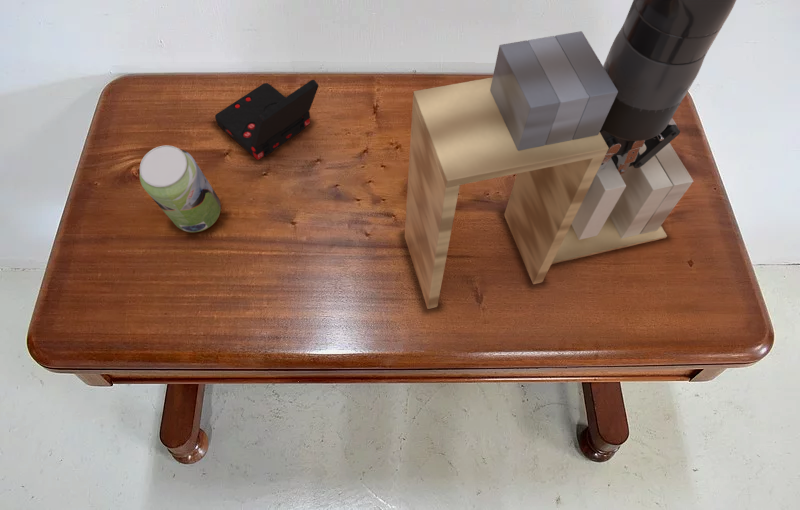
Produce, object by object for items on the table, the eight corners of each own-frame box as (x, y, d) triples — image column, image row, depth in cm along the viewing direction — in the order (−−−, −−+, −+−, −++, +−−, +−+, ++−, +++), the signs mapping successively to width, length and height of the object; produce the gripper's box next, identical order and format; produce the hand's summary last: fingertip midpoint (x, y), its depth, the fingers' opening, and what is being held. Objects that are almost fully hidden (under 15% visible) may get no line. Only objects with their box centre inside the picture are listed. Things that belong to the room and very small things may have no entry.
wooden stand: (542, 282, 71) (631, 104, 45) (427, 309, 68) (453, 138, 43) (512, 213, 75) (578, 17, 50) (404, 236, 73) (415, 44, 48)
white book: (597, 235, 72) (626, 185, 63) (578, 240, 71) (605, 190, 62) (574, 188, 75) (599, 135, 66) (556, 192, 74) (578, 139, 66)
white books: (665, 238, 74) (705, 186, 65) (544, 266, 72) (567, 216, 63) (633, 180, 78) (666, 125, 69) (517, 205, 76) (535, 151, 67)
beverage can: (227, 195, 76) (202, 130, 65) (216, 246, 72) (188, 185, 62) (176, 193, 76) (144, 128, 65) (163, 244, 72) (126, 183, 61)
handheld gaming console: (269, 88, 85) (256, 30, 76) (327, 135, 81) (321, 79, 72) (214, 124, 81) (194, 67, 73) (273, 175, 77) (259, 121, 69)
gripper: (590, 121, 51) (543, 230, 66) (737, 92, 53) (659, 204, 68) (556, 59, 54) (519, 176, 69) (695, 34, 56) (630, 153, 71)
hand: (589, 189), depth 69 cm, fingers closed on white book, 2 cm apart
